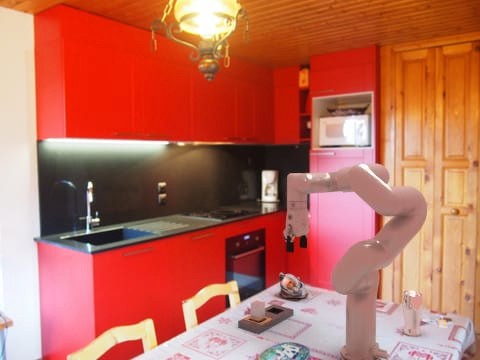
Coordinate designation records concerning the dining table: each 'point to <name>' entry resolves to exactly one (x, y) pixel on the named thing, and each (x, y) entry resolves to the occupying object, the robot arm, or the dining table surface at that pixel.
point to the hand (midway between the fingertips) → (296, 250)
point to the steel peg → (258, 311)
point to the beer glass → (412, 312)
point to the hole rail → (267, 319)
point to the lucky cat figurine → (292, 286)
